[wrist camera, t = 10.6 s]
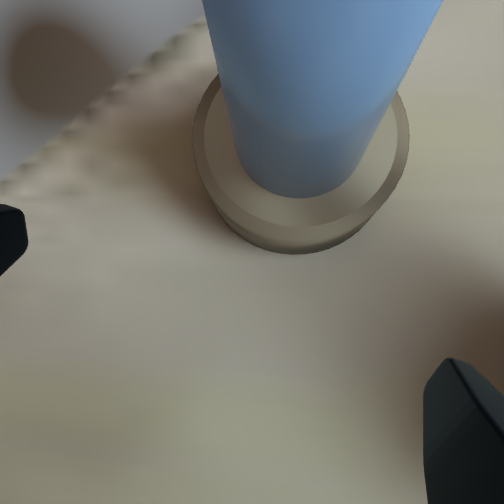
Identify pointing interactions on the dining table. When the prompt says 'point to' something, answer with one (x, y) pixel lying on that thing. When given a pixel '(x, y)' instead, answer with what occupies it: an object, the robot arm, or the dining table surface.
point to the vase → (311, 82)
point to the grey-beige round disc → (295, 209)
